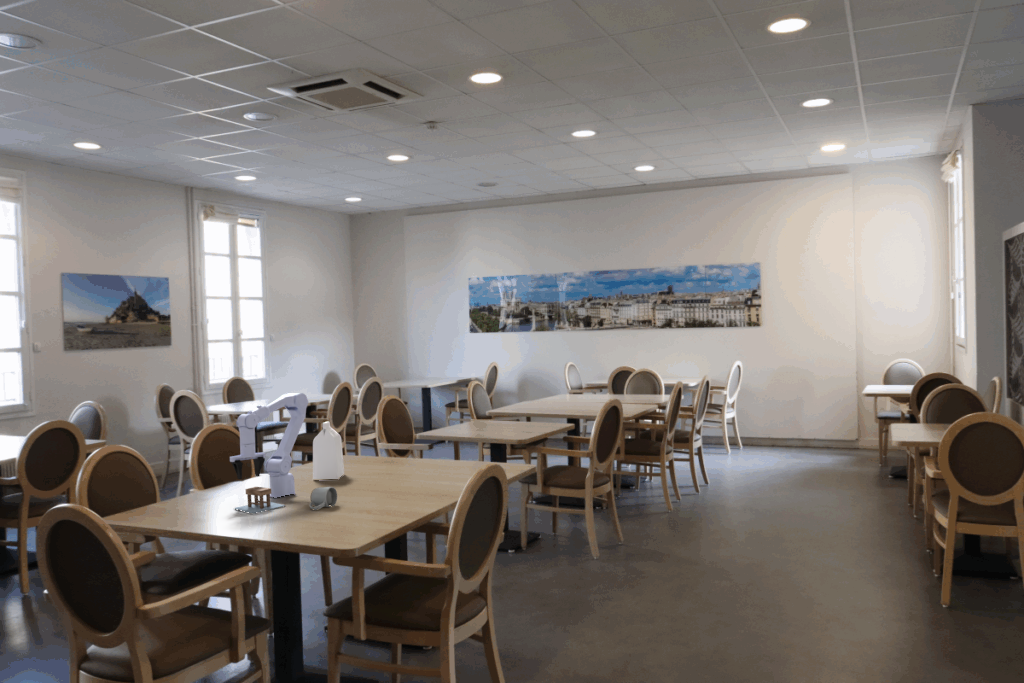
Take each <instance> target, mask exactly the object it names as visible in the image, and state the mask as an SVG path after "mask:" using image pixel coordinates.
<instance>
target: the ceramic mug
mask: <svg viewBox="0 0 1024 683" xmlns="http://www.w3.org/2000/svg"><path fill="white" fill-rule="evenodd" d="M309 497H310V503H309V509H310V510H311V509H314V510H313V511H318V510H321V509H322V508H332V507H331V506H333V507H334V506H335V505H336V504H337V501H338V491H337V490H336V488H335V487H334V486H324V487H316V488H314V489H313V490H312V491H311V493H310V496H309ZM329 505H331V506H329ZM317 509H318V510H317Z"/></svg>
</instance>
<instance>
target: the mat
mask: <svg viewBox="0 0 1024 683" xmlns="http://www.w3.org/2000/svg"><path fill="white" fill-rule="evenodd" d="M270 505H271V506H270V507H267V503H264V508H263V509H260V505H254V504H252V507H248V504H247V505H242V506H237V507H234V508H235V509H238V510H242V511H245V512H249V513H255V514H257V513H256V512H260V513H262V512H261V511H264V512H266V511H265V510H269V511H271V510H270V509H273V510H275V509H274V508H278V507H282V508H284V507H283V506H285V507H286V505H285V504H281V503H276V502H272V501H270ZM278 509H279V508H278ZM245 512H244V513H245ZM249 513H248V514H249Z"/></svg>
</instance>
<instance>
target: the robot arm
mask: <svg viewBox="0 0 1024 683" xmlns="http://www.w3.org/2000/svg"><path fill="white" fill-rule="evenodd" d="M308 404H309V399H308V397H307V395H306V394H305V393H304V392H299V393H298V392H297V393H296V392H295V393H294V392H285V393H284V394H282V395H280V396H279V397H278V398H277V399H275V400H274V401H272V402H270V403H268V404H267V405H263V404H259V405H258V404H257V405H256V407H255V408H254V409H252V410H247V412H246V413H242V414H240V415H239V416H238V417H237V420H236V421H235V423H236V427H238V432H239V448H240V451H239V452H240V454H238V455H234V456H233V455H232V456H229V462H230V464H231V465H232V467H233V469H234V471H235V473H236V477H237V479H238V480H242V479H243V471H242V470H243V465H244V462H242V461H245V460H246V461H247V460H248V461H249V460H253V464H254V476H255V477H260V476H261V470H262V467H263V466H264V465H263V464H264V463H265V466H264V467H265V471H266V472H268V475H269V488H271V494H270V498H273V497H274V499H278V498H277V497H280V498H282V497H281V496H284V497H286V496H285V495H289V496H291V495H290V494H294V495H296V494H295V493H296V490H295V485H296V484H295V476H294V475H293V473H291V472H290V471H291V468H292V461H293V458H292V456H291V452H292V450H293V448H294V444H295V443H296V442H297V441H296V440H297V438H298V435H299V433H300V431H301V429H302V425H303V424H304V421H305V418H306V413H307V408H308ZM283 407H284V408H285V409H286V410H287V412H288V413H289V415H290V418H289V422H288V423H287V425H286V428H285V431H284V433H283V435H282V437H281V440H280V442H279V444H278V448H277V450H275V451H274V452H272V453H271V455H270V457H269V458H268V459H267V460H266V457H267V455H266V454H267V453H266V452H264V451H263V452H256V432H255V428H256V427H257V426H258V424H259V423H260V422H263V421H264V420H266V419H268V418H269V417H270V416H271V413H273V412H275V411H277V410H280V409H282V408H283ZM265 460H266V462H265Z"/></svg>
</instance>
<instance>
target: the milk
mask: <svg viewBox="0 0 1024 683" xmlns="http://www.w3.org/2000/svg"><path fill="white" fill-rule="evenodd" d="M342 443H343V442H342V436H341V435H340V433H338V432H337V431H336V429H334V428H333V427H332V426H331V422H330V421H325V422H322V429H321V430H320V431H319V432H318V434H317V435H316V436H315V437H314V439H313V441H312V480H313V479H338V478H339V477H341V476H342V475H343V474H344V475H345V466H344V455H343V444H342ZM344 475H343V476H344ZM343 476H342V477H343ZM342 477H341V478H342ZM339 479H340V478H339ZM339 479H338V480H339Z"/></svg>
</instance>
